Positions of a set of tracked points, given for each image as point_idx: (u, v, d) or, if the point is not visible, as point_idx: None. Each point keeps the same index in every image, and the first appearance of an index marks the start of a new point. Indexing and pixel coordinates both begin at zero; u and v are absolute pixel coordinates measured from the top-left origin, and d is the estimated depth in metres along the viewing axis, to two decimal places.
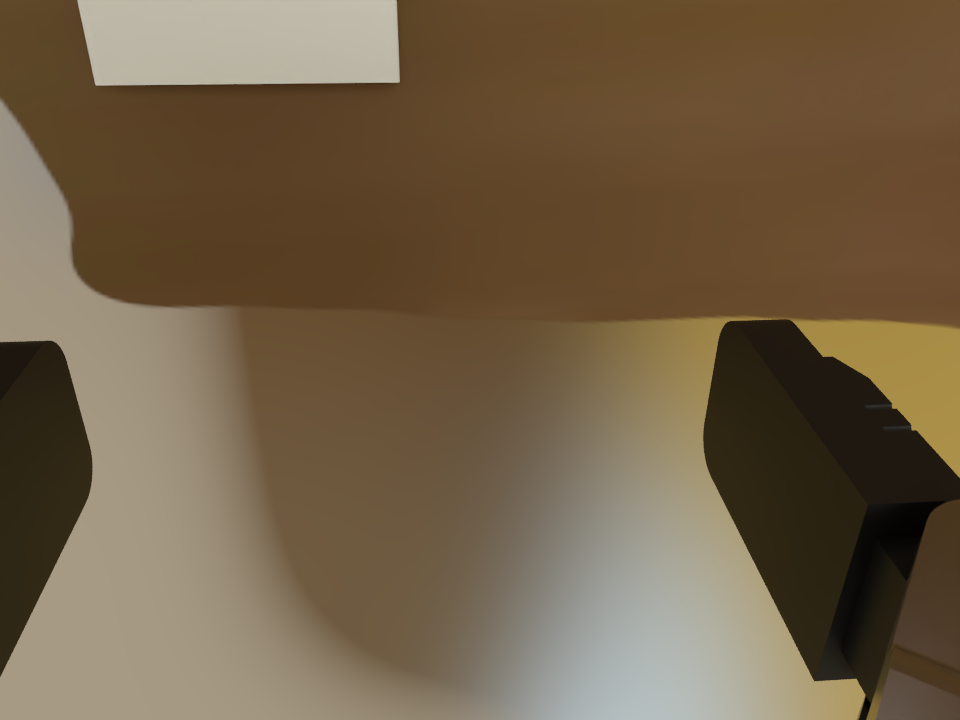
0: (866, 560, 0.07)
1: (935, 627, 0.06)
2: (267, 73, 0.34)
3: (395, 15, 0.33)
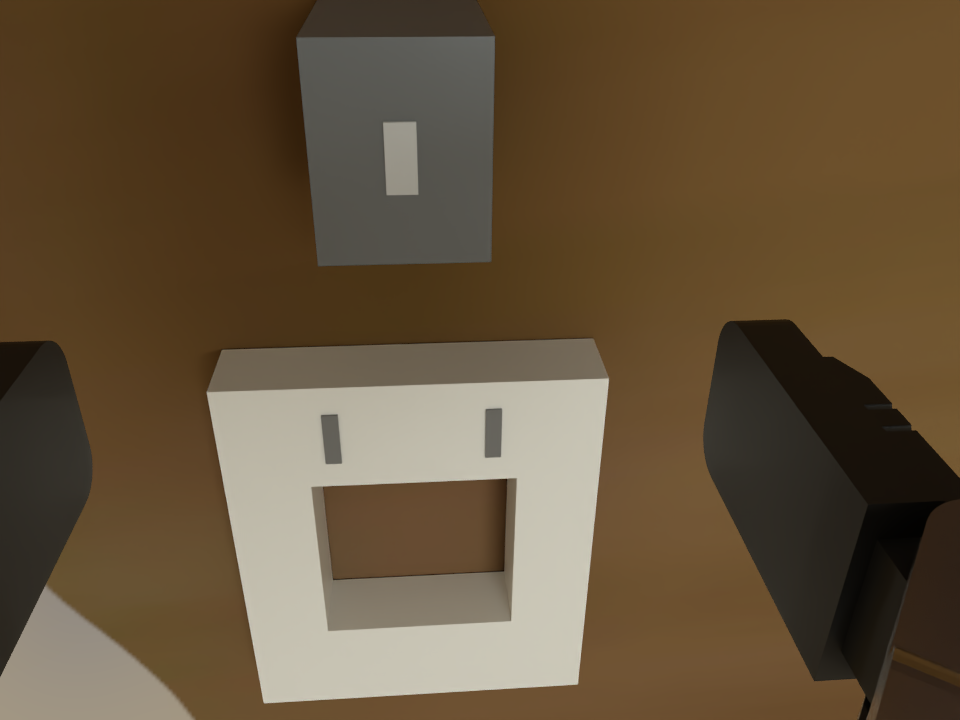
0: (866, 560, 0.07)
1: (935, 627, 0.06)
2: (442, 685, 0.33)
3: (580, 639, 0.32)
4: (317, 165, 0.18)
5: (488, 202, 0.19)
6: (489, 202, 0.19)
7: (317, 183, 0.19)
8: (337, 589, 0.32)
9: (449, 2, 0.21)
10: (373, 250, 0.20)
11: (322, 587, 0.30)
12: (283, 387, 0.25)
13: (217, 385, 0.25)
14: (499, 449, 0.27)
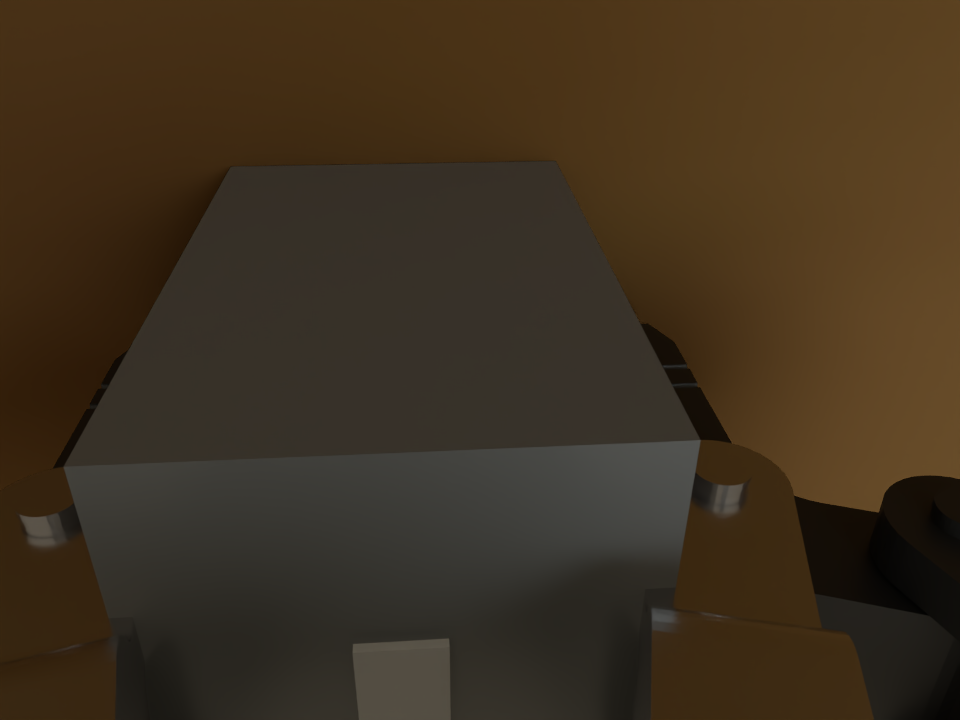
0: None
1: None
2: None
3: None
4: None
5: None
6: None
7: None
8: None
9: (512, 201, 0.09)
10: None
11: None
12: None
13: None
14: None
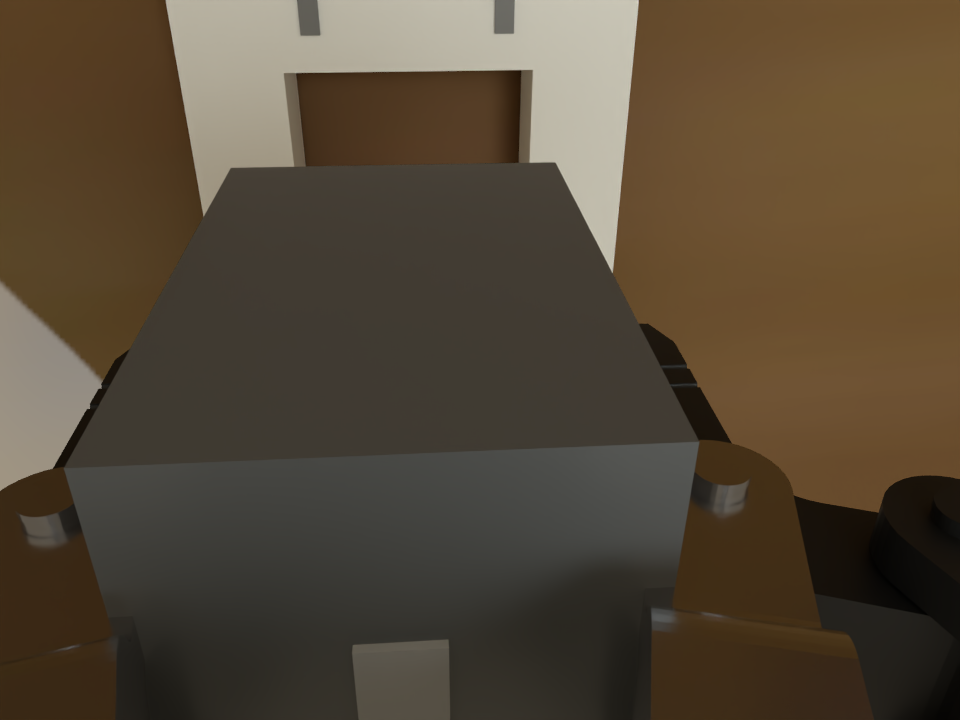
0: None
1: None
2: None
3: None
4: None
5: None
6: None
7: None
8: None
9: (512, 203, 0.09)
10: None
11: None
12: None
13: None
14: (512, 22, 0.22)
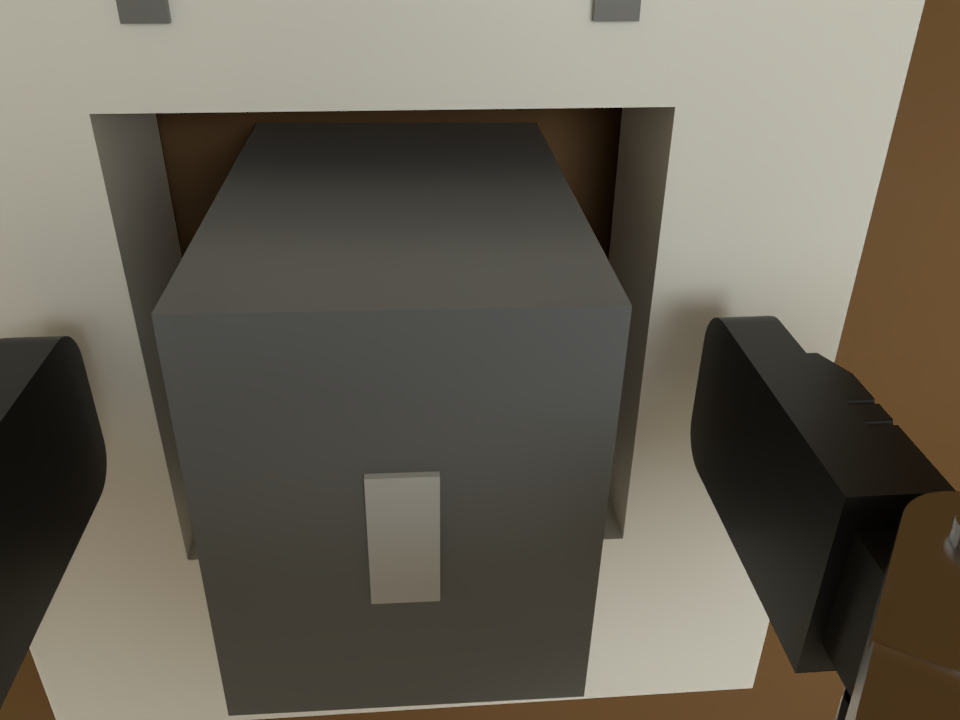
0: (845, 553, 0.08)
1: (913, 619, 0.06)
2: None
3: None
4: (217, 555, 0.08)
5: (587, 604, 0.09)
6: (589, 604, 0.09)
7: (219, 585, 0.09)
8: None
9: (497, 151, 0.11)
10: (342, 687, 0.09)
11: (161, 442, 0.12)
12: None
13: None
14: None
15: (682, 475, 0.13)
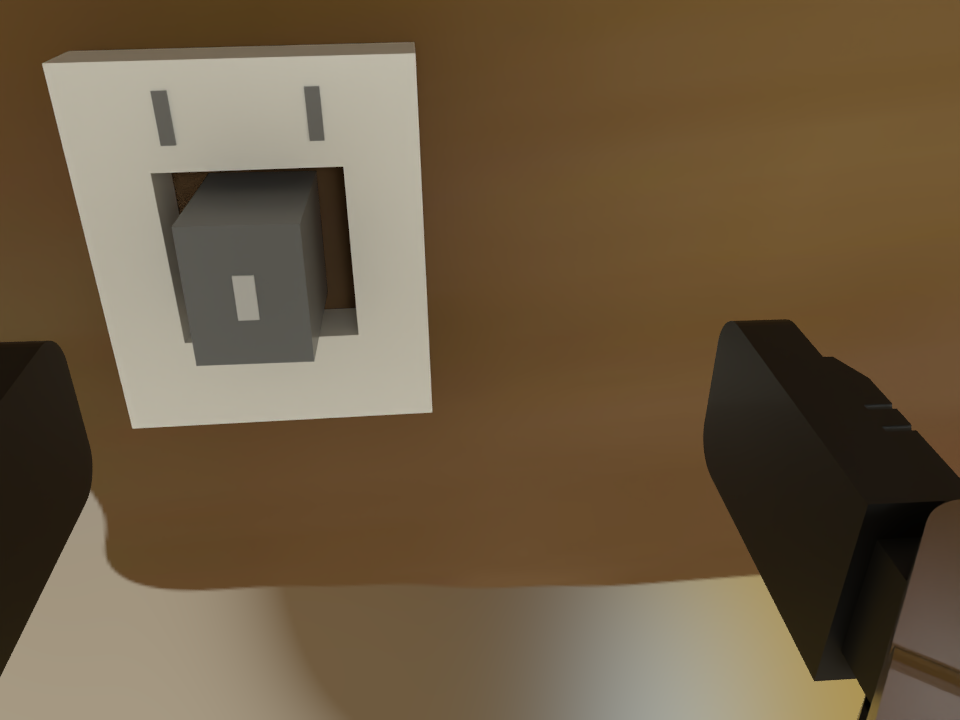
0: (866, 561, 0.07)
1: (935, 627, 0.06)
2: (301, 411, 0.34)
3: (428, 357, 0.34)
4: (191, 302, 0.28)
5: (307, 323, 0.29)
6: (308, 323, 0.29)
7: (192, 313, 0.28)
8: None
9: (293, 182, 0.31)
10: (232, 355, 0.29)
11: (174, 291, 0.32)
12: (113, 60, 0.28)
13: (53, 60, 0.28)
14: (322, 132, 0.29)
15: (377, 306, 0.33)
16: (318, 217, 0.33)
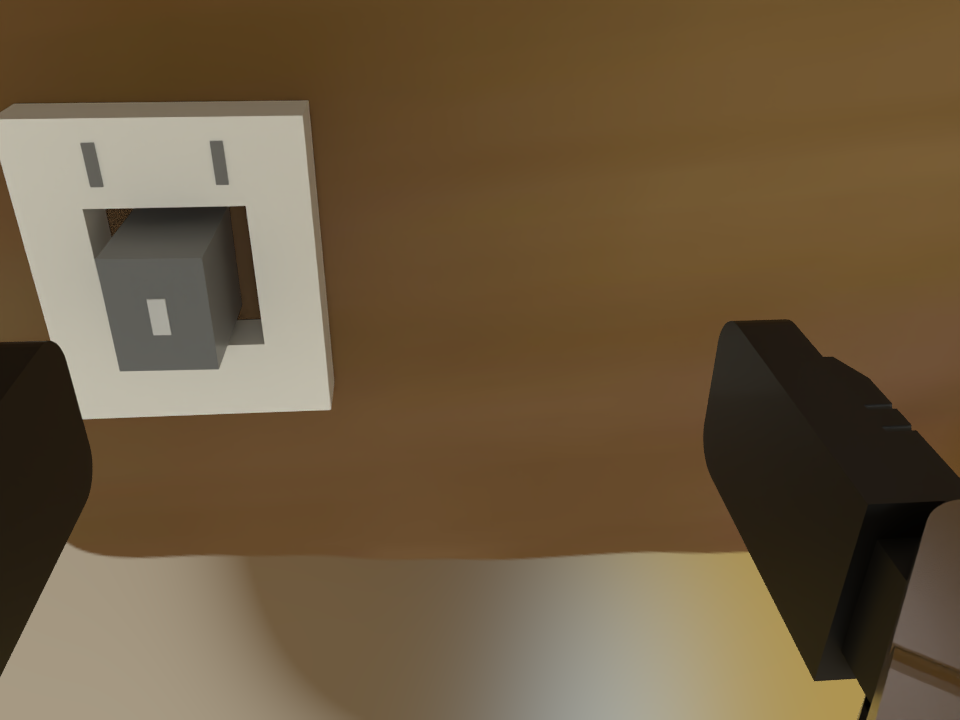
0: (866, 560, 0.07)
1: (935, 626, 0.06)
2: (218, 407, 0.40)
3: (325, 364, 0.40)
4: (113, 320, 0.34)
5: (212, 338, 0.35)
6: (212, 338, 0.35)
7: (114, 329, 0.34)
8: None
9: (206, 216, 0.37)
10: (150, 363, 0.35)
11: None
12: (48, 117, 0.33)
13: None
14: (227, 178, 0.35)
15: (279, 320, 0.38)
16: (230, 244, 0.38)
